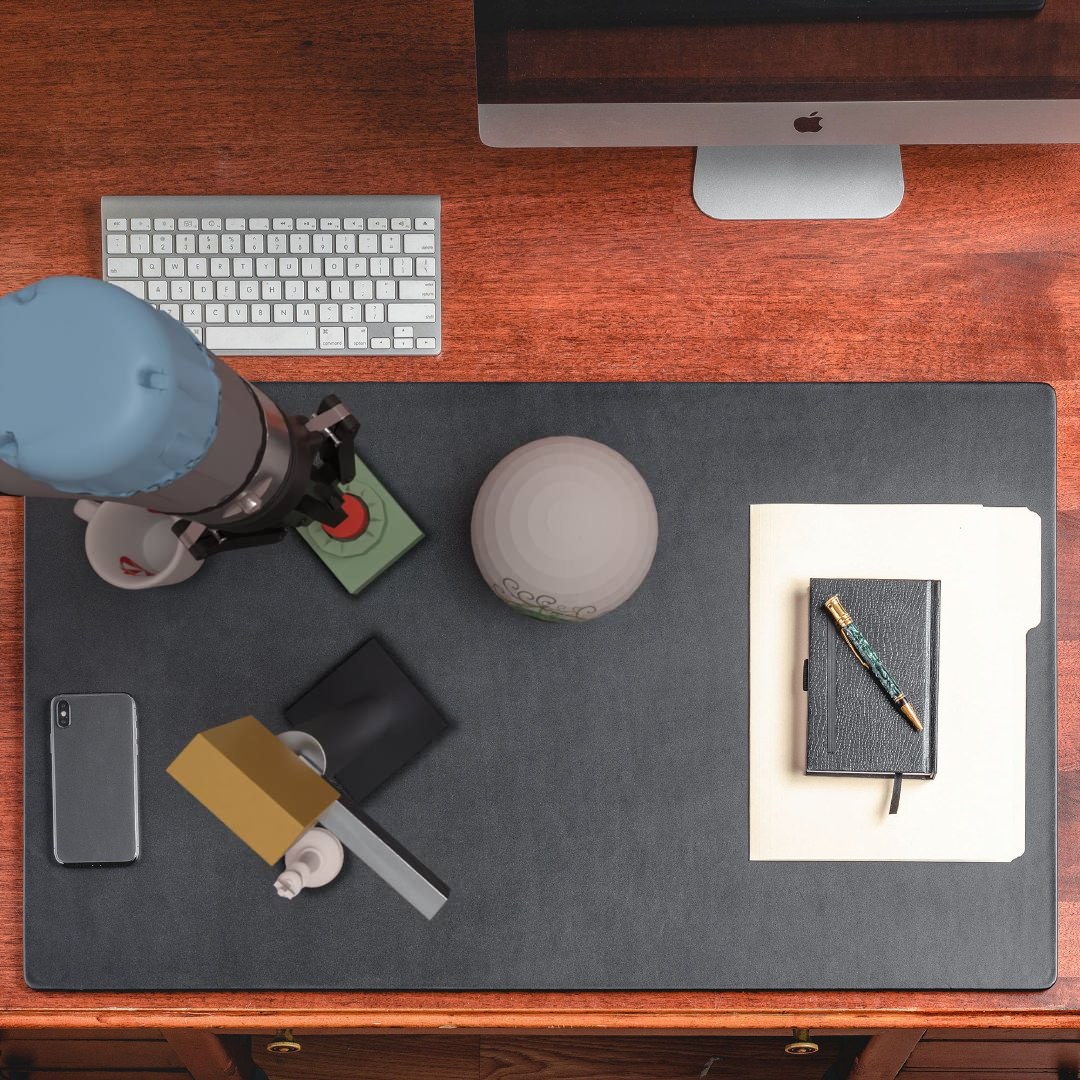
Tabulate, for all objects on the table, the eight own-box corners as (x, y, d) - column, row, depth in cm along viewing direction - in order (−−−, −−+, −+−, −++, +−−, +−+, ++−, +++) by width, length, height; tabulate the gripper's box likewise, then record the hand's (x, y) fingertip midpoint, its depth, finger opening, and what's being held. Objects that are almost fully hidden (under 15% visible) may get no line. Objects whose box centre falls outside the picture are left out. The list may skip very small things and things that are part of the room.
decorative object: (448, 579, 78) (427, 570, 63) (520, 427, 79) (517, 383, 64) (603, 651, 77) (619, 659, 62) (673, 497, 79) (705, 469, 64)
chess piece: (311, 815, 76) (277, 845, 66) (355, 852, 76) (327, 887, 66) (274, 860, 76) (234, 897, 66) (318, 898, 76) (284, 940, 66)
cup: (85, 550, 78) (34, 543, 70) (130, 472, 79) (84, 455, 71) (191, 607, 78) (151, 607, 70) (236, 528, 78) (202, 518, 70)
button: (316, 515, 75) (311, 513, 73) (349, 488, 75) (344, 485, 73) (343, 547, 75) (338, 546, 73) (376, 520, 75) (372, 517, 73)
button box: (284, 509, 78) (270, 503, 74) (353, 451, 79) (344, 442, 75) (356, 594, 78) (346, 593, 74) (425, 535, 78) (419, 531, 74)
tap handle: (235, 741, 53) (164, 770, 43) (261, 710, 53) (198, 732, 43) (429, 915, 52) (404, 986, 42) (456, 883, 52) (437, 946, 42)
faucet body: (288, 711, 77) (175, 755, 53) (376, 636, 77) (304, 645, 54) (361, 800, 76) (280, 885, 52) (449, 724, 77) (410, 773, 53)
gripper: (167, 592, 45) (296, 600, 68) (365, 426, 45) (425, 491, 69) (75, 480, 45) (235, 527, 69) (273, 318, 46) (364, 419, 69)
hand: (330, 509), depth 69 cm, fingers closed
